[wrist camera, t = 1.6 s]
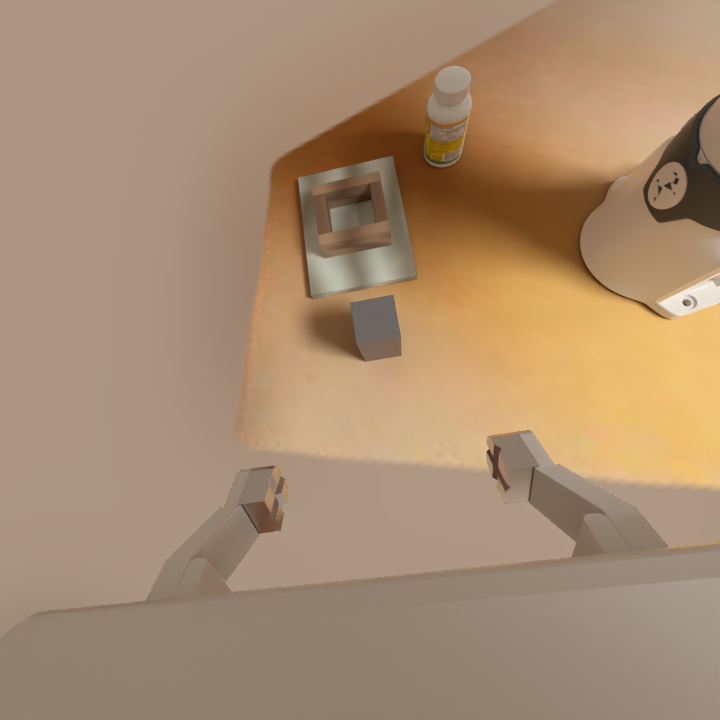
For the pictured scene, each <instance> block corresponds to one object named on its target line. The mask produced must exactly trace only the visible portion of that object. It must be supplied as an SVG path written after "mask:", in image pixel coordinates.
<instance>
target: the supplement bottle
mask: <svg viewBox="0 0 720 720" xmlns="http://www.w3.org/2000/svg"><path fill="white" fill-rule="evenodd" d="M470 83H471V75H470V73H469V72H468V71H467V70H466V69H465V68H463V67H460V66H450V67H446V68H444V69H442V70H441V71H440V72H439V73H438V74H437V76H436V78H435V83H434V92H433V93H432V95H431V96H430V98H429V100H428V103H427V111H426V124H425V138H424V156H425V159H426V161H427V162H428V163H429V164H430V165H432V166H435V167H440V168H443V167H448V166H450V165H452V164H454V163H455V162H456V161H457V160H458V159H459V158H460V156H461V153H462V149H463V144H464V140H465V135H466V130H467V125H468V121H469V116H470V112H471V107H472V99H471V96H470V94H469V89H470Z"/></svg>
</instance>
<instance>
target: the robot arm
mask: <svg viewBox="0 0 720 720" xmlns="http://www.w3.org/2000/svg"><path fill="white" fill-rule="evenodd" d="M580 249H581V254H582V257H583V259H584V262H585V264H586V266H587V267H588V269H589V270H590V272H591V273H592V274H593V275H594V276H595V278H596V279H597V280H599V281H600V282H601V283H602V284H603V285H605V286H606V287H607V288H609V289H611V290H612V291H614V292H616V293H618V294H620V295H622V296H625V297H628V298H631V299H634V300H637V301H640V302H642V303H645V304H646V305H648V306H649V307H650V308H652V309H653V310H654V311H656V312H657V313H659V314H660V315H662V316H663V317H665V318H668V319H678V318H681V317H684V316H687V315H690V314H692V313H695V312H698V311H701V310H703V309H706V308H709V307H712V306H715V305H717V304H720V95H718V96H716V97H715V98H713V99H712V100H711V101H709V102H708V103H707V104H706V105H705V106H704V107H703V108H702V109H701V110H700V111H699V112H698V113H697V114H695V115H694V116H693V117H691V118H690V119H689V121H688V122H687V123H686V124H685V125H684V126H683V127H682V128H681V131H680V132H679V133H678V134H677V135H676V136H672V137H670V138H669V139H667V140H666V141H665V142H663V143H662V144H661V145H660V146H659V147H658V148H657V149H656V150H655V151H654V152H653V153H652V154H651V155H650V156H649V157H648V158H647V159H646V160H644V161H643V162H642V163H641V164H640V165H639V166H638V167H637V168H636V169H635V170H634V171H633V172H632V173H631V174H630V175H629V176H622V177H620V178H618V179H617V180H616V181H615V182H614V183H613V184H612V185H611V186H610V188H609V190H608V192H607V195H606V197H605V200H604V201H603V203H602V204H601V205H600V206H599V207H597V208H596V209H595V210H594V211H593V212H592V213H591V214H590V215H589V217H588V218H587V220H586V221H585V223H584V225H583V228H582V231H581V235H580ZM682 302H683V303H684V304H685V305H686V306H684V305H683V303H682ZM487 445H488V447H489V450H488V451H487V463H488V467H489V470H490V473H491V475H492V477H493V478H494V479H496V480H497V488H498V491H499V493H500V495H501V497H502V500H503V502H504V504H508V503H520V502H529V503H530V504H531V505H532V506H534V507H535V508H536V509H537V510H538V511H540V512H541V513H542V514H543V515H544V516H545V517H547V518H548V519H549V520H550V521H551V522H553V523H554V524H555V525H556V526H557V527H559V528H560V529H561V530H562V531H563V532H565V533H566V534H567V535H568V536H569V537H571V538H572V539H573V540H574V541H575V542H576V545H575V548H574V551H573V554H572V557H570V558H560V559H550V560H540V561H532V562H531V561H530V562H521V563H511V564H501V565H492V566H481V567H472V568H462V569H453V570H442V571H432V572H423V573H413V574H403V575H394V576H384V577H374V578H365V579H355V580H345V581H335V582H326V583H316V584H306V585H296V586H287V587H277V588H267V589H257V590H248V591H238V592H234V591H233V590H232V589H231V587H229V585H228V584H227V583H226V581H227V580H228V578H229V577H230V575H231V574H232V573H233V571H234V570H235V568H236V567H237V566H238V564H239V563H240V562H241V560H242V559H243V557H244V556H245V555H246V553H247V552H248V550H249V549H250V548H251V546H252V545H253V543H254V542H255V540H256V539H257V538H258V536H259V534H261V533H267V532H274V531H280V530H281V526H282V522H283V517H284V512H283V511H282V508H283V507H284V505H285V504H286V503H287V498H288V487H287V483H286V480H285V479H284V478H283V477H281V476H280V474H281V470H280V468H279V466H268V467H261V468H252V469H243V470H240V471H239V472H238V473H237V476H236V478H235V481H234V483H233V485H232V488H231V490H230V493H229V495H228V498H227V500H226V503H225V505H224V507H222V508H219V509H218V510H217V511H216V512H215V513H214V514H213V515H212V516H211V517H210V518H209V519H208V520H207V521H206V522H205V523H204V524H203V525H202V526H201V527H200V528H199V529H198V530H197V531H196V532H195V533H194V534H193V535H192V536H191V537H190V538H189V539H187V540H186V541H185V542H184V543H183V544H182V545H181V546H180V547H179V548H178V549H177V550H176V551H175V552H174V553H173V554H172V555H171V556H170V557H169V558H168V559H167V560H166V561H165V563H164V565H163V567H162V569H161V572H160V573H159V575H158V578H157V580H156V581H155V584H154V585H153V587H152V589H151V592H150V594H149V596H148V597H147V600H146V601H139V602H129V603H119V604H109V605H100V606H91V607H80V608H70V609H60V610H48V611H42V612H38V613H36V614H33V615H31V616H30V617H28V618H26V619H25V620H23V621H22V622H21V623H19V624H18V625H17V626H15V627H14V628H12V629H11V630H10V631H8V632H7V633H6V634H5V635H3V636H2V637H1V638H0V720H720V542H716V543H707V544H696V545H687V546H677V547H668V546H667V544H666V543H665V542H664V541H663V540H662V538H661V537H660V536H659V535H658V534H657V532H656V531H655V530H654V529H653V528H652V526H651V525H650V524H649V523H648V522H647V520H646V519H645V518H644V517H643V516H642V514H641V513H640V512H639V511H638V510H637V509H636V508H635V507H634V506H632V505H630V504H629V503H627V502H625V501H623V500H621V499H619V498H618V497H616V496H614V495H613V494H611V493H609V492H607V491H606V490H604V489H602V488H600V487H599V486H597V485H595V484H593V483H592V482H590V481H588V480H586V479H585V478H583V477H581V476H579V475H578V474H576V473H574V472H572V471H571V470H569V469H567V468H565V467H564V466H562V465H560V464H557V465H555V464H554V462H553V461H552V459H551V458H550V456H549V455H548V454H547V452H546V451H545V449H544V448H543V446H542V445H541V443H540V442H539V441H538V439H537V438H536V436H535V435H534V433H533V432H532V431H530V430H526V431H519V432H512V433H505V434H498V435H492V436H488V437H487Z"/></svg>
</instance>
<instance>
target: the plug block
mask: <svg viewBox="0 0 720 720" xmlns="http://www.w3.org/2000/svg"><path fill="white" fill-rule="evenodd" d="M350 305H351V312H352V319H353V326H354V333H355V340H356V345H357V347H358V348H359V350H360V352H361V354H362V356H363V358H364V360H365V362H366V361H372V360H378V359H384V358H390V357H396V356H401V335H400V329H399V324H398V318H397V313H396V307H395V302H394V296H393V295H389V296H384V297H379V298H373V299H368V300H363V301H358V302H352V303H350Z"/></svg>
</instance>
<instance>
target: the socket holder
mask: <svg viewBox="0 0 720 720" xmlns="http://www.w3.org/2000/svg"><path fill="white" fill-rule="evenodd" d="M298 183H299V192H300V201H301V210H302V219H303V228H304V237H305V247H306V256H307V265H308V274H309V283H310V292H311V297H312V298H313V299H315V298H321V297H326V296H331V295H336V294H341V293H346V292H352V291H357V290H362V289H367V288H372V287H378V286H383V285H388V284H393V283H398V282H404V281H409V280H414V279H417V271H416V266H415V261H414V256H413V251H412V246H411V241H410V237H409V232H408V227H407V222H406V217H405V212H404V207H403V203H402V198H401V193H400V188H399V183H398V178H397V173H396V169H395V164H394V159H393V156H389V157H385V158H380V159H376V160H372V161H367V162H363V163H359V164H355V165H350V166H346V167H342V168H337V169H333V170H329V171H325V172H320V173H316V174H312V175H307V176H303V177H299V178H298Z"/></svg>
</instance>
